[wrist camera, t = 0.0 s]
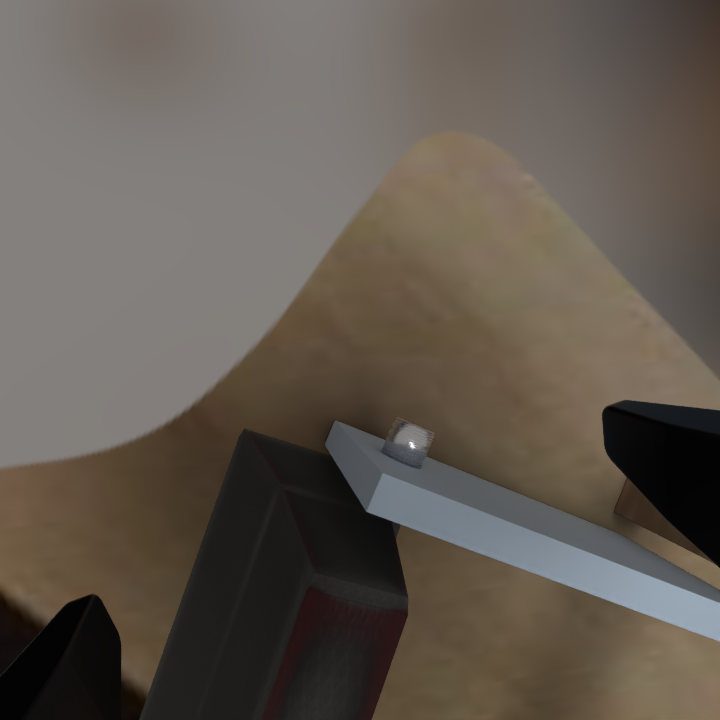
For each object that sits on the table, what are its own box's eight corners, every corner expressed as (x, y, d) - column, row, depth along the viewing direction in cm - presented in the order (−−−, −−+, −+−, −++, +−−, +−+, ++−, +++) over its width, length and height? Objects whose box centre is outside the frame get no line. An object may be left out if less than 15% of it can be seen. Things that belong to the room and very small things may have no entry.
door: (630, 508, 28) (808, 594, 19) (611, 556, 28) (780, 663, 19) (347, 391, 24) (401, 427, 16) (324, 444, 24) (366, 511, 16)
